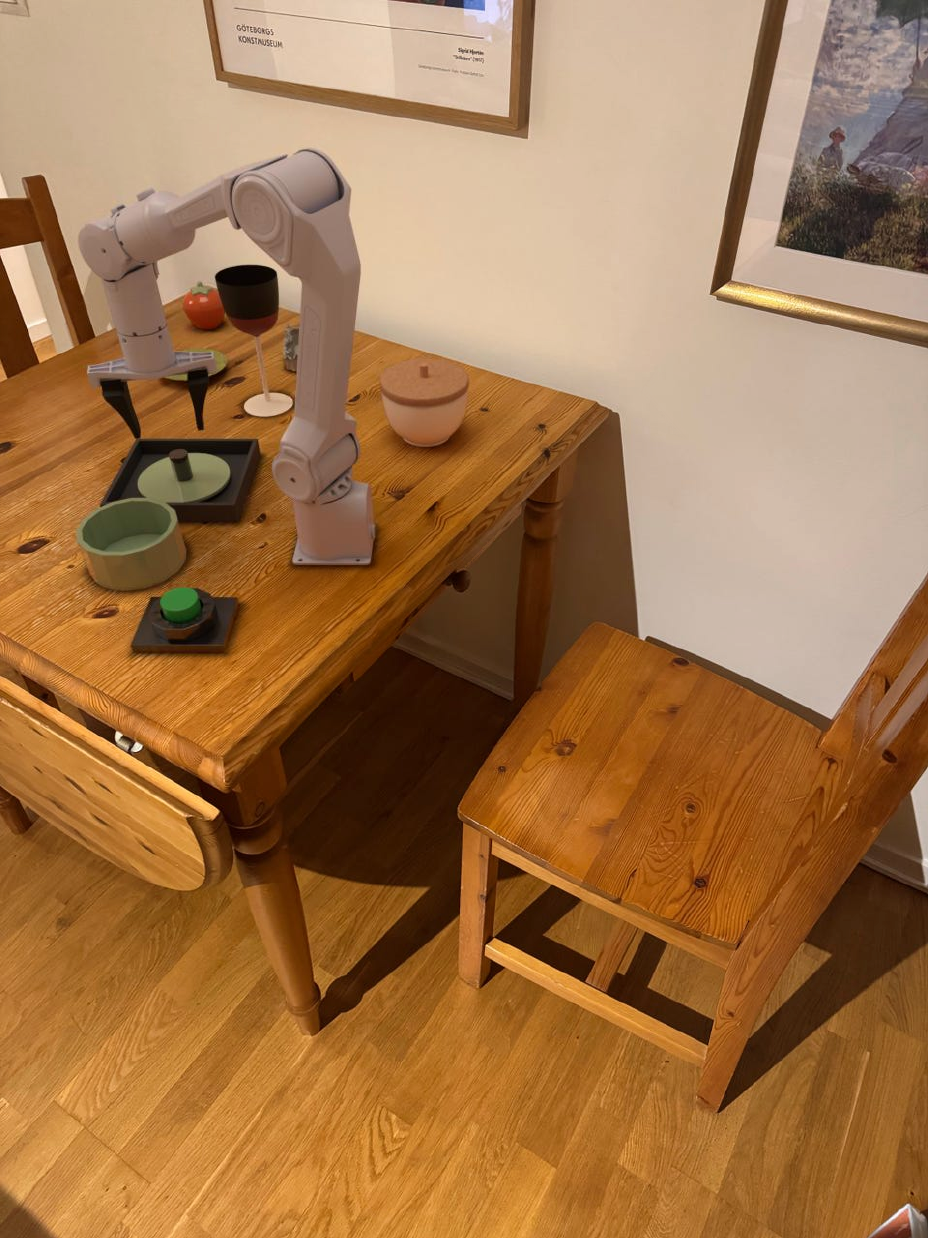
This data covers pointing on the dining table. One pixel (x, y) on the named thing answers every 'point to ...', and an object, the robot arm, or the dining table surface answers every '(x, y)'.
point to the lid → (184, 477)
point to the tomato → (203, 306)
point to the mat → (219, 357)
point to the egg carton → (291, 347)
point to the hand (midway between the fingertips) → (169, 430)
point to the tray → (233, 451)
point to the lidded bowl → (424, 399)
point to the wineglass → (253, 321)
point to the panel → (187, 627)
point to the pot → (131, 543)
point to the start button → (180, 604)
